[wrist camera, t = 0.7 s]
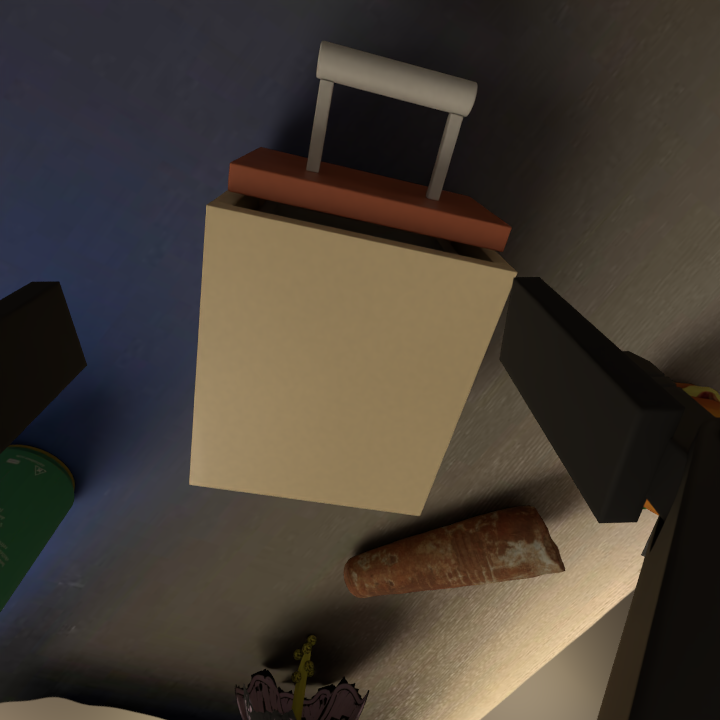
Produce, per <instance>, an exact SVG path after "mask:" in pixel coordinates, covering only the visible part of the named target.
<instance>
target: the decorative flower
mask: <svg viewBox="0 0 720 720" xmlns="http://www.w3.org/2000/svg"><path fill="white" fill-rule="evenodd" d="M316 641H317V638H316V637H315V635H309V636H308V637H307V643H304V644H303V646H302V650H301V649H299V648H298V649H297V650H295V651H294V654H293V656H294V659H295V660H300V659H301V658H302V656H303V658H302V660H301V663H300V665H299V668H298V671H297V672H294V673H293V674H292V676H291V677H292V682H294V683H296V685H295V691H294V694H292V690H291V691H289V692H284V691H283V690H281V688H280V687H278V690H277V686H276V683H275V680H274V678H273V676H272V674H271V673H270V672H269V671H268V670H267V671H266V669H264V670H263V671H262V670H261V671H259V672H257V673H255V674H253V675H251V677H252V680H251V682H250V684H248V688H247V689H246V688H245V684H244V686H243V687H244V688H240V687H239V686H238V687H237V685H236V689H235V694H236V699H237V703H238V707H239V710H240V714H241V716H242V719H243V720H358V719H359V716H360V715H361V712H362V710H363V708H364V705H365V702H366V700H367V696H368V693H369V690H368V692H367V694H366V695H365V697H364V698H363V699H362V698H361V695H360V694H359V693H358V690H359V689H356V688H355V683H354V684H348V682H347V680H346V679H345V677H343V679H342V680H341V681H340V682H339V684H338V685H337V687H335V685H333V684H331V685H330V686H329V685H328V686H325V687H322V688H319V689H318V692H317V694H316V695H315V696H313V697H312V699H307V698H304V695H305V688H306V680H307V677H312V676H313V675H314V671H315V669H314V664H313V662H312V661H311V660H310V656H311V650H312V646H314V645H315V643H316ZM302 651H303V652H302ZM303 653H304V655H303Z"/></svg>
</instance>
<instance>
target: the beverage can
mask: <svg viewBox="0 0 720 720" xmlns="http://www.w3.org/2000/svg"><path fill="white" fill-rule="evenodd" d="M74 490H75V482H74V478H73V475H72V474H71V472H70V470H69V469H68V468H67V466H66V465H65V464H64V463H63V462H62V461H60V460H59V459H58V458H56V457H55V456H53V455H52V454H50V453H48V452H46V451H44V450H41V449H38V448H35V447H31V446H27V445H9V446H8V447H7V448H6V449H5V450H4V451H3V452H2V453H1V454H0V612H1V611H2V609H3V608H4V606H5V605H6V603H7V602H8V600H9V599H10V597H11V596H12V594H13V593H14V591H15V590H16V588H17V587H18V585H19V584H20V582H21V581H22V579H23V578H24V576H25V575H26V573H27V572H28V570H29V569H30V567H31V566H32V565H33V563H34V562H35V560H36V559H37V557H38V556H39V554H40V553H41V551H42V550H43V548H44V547H45V545H46V544H47V542H48V541H49V539H50V538H51V536H52V535H53V533H54V532H55V530H56V529H57V527H58V526H59V524H60V523H61V521H62V520H63V518H64V517H65V516H66V514H67V513H68V511H69V510H70V508H71V507H72V505H73V502H74Z"/></svg>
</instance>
